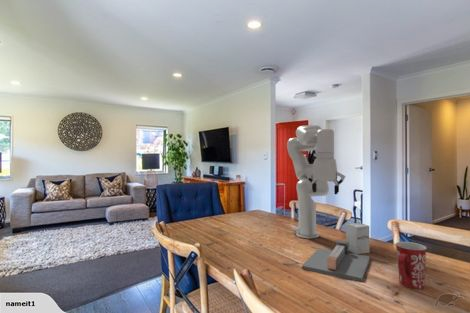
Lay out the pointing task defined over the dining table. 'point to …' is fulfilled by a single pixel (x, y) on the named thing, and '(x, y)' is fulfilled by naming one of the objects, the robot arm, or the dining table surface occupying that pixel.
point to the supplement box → (358, 238)
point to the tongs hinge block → (344, 243)
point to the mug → (411, 264)
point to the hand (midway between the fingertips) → (325, 193)
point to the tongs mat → (348, 268)
